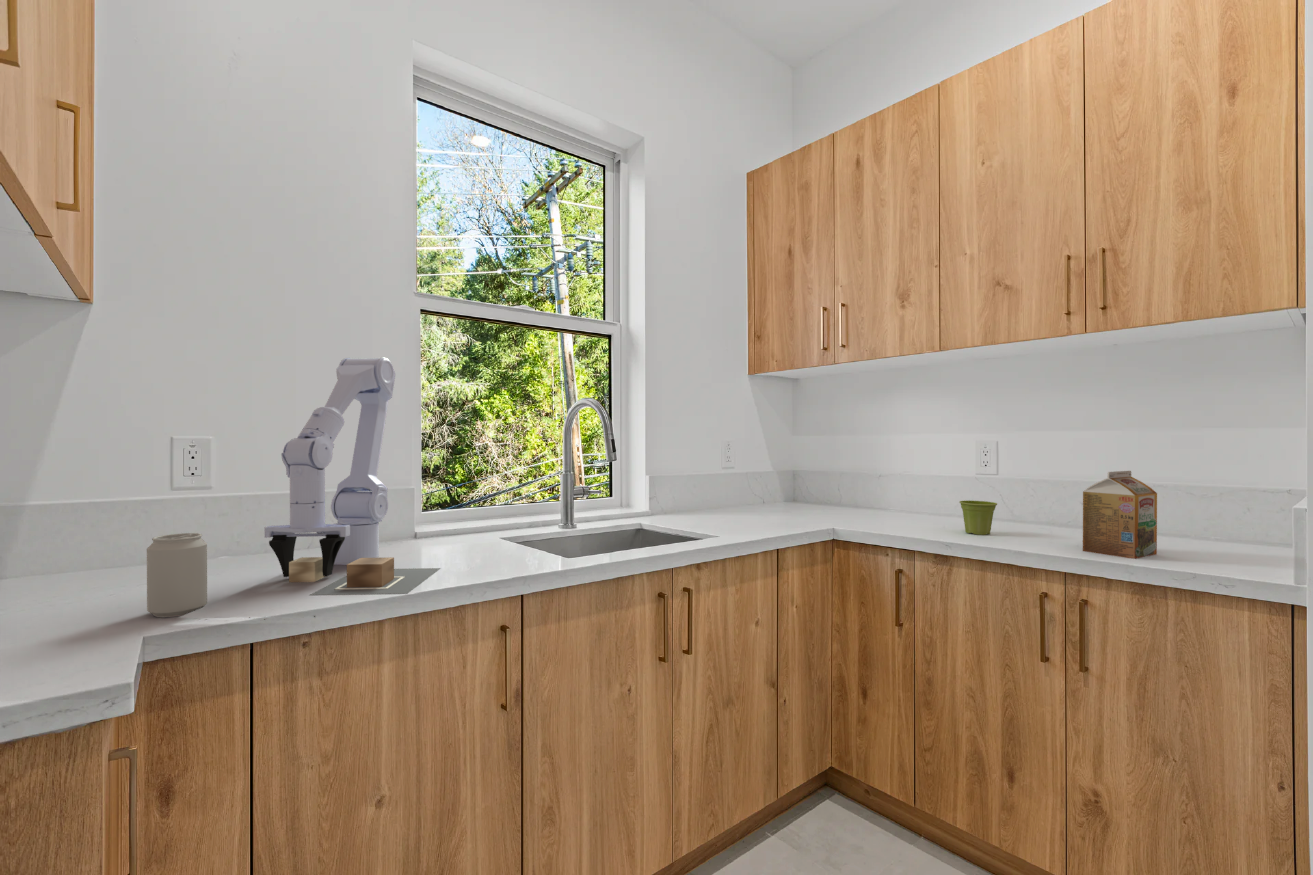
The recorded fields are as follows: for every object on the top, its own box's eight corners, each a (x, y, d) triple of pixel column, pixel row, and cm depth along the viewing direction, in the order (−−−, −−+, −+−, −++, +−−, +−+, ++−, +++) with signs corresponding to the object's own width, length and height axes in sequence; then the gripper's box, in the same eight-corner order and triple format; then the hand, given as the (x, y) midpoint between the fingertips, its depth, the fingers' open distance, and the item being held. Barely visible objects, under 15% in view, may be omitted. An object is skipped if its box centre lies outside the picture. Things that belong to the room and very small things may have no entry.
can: (156, 608, 100) (156, 533, 100) (212, 603, 103) (212, 530, 103) (139, 621, 93) (138, 540, 93) (200, 615, 96) (200, 537, 96)
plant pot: (990, 531, 178) (990, 500, 178) (1002, 536, 169) (1002, 504, 169) (955, 530, 180) (955, 500, 180) (964, 535, 171) (964, 503, 171)
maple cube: (289, 586, 114) (288, 562, 114) (301, 581, 119) (301, 557, 119) (314, 586, 114) (314, 561, 114) (326, 580, 119) (326, 557, 119)
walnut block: (346, 587, 110) (346, 564, 110) (360, 579, 116) (360, 557, 116) (381, 586, 111) (381, 564, 110) (394, 578, 117) (394, 557, 116)
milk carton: (1134, 558, 139) (1135, 473, 139) (1082, 551, 148) (1083, 470, 148) (1156, 554, 145) (1157, 471, 144) (1105, 547, 154) (1105, 469, 154)
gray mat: (309, 599, 105) (309, 594, 105) (359, 573, 125) (359, 568, 125) (407, 598, 106) (407, 592, 106) (440, 572, 126) (440, 567, 126)
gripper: (254, 505, 112) (254, 581, 112) (338, 504, 113) (338, 579, 113) (276, 500, 119) (276, 572, 119) (354, 500, 120) (354, 571, 120)
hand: (307, 575), depth 117 cm, fingers open, 6 cm apart
